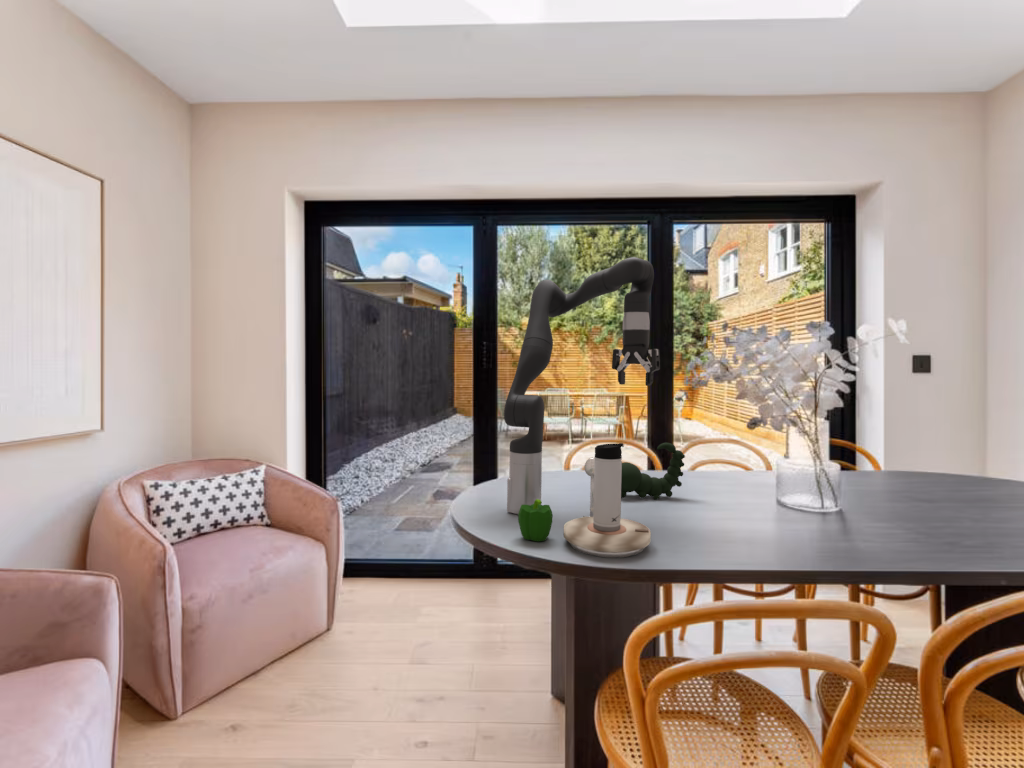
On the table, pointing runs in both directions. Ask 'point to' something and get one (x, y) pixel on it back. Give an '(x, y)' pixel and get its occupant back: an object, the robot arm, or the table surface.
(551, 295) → the robot arm
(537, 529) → the bell pepper
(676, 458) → the toy figurine
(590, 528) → the turntable platter
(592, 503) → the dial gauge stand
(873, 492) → the table surface
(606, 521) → the travel mug
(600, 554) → the turntable base
